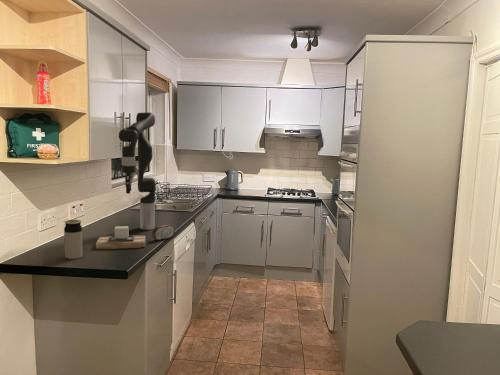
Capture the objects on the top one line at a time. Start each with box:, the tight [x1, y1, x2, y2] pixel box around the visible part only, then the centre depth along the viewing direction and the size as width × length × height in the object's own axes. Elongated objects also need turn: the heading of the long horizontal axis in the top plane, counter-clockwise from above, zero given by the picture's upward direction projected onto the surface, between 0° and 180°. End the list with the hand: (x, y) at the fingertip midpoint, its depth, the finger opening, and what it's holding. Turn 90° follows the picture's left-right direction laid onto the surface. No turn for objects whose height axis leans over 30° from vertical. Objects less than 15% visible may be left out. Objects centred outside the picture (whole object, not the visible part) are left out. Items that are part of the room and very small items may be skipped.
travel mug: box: [63, 219, 84, 260], centre depth 192 cm, size 8×8×18 cm
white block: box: [114, 225, 130, 240], centre depth 217 cm, size 5×7×7 cm
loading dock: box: [95, 234, 146, 250], centre depth 217 cm, size 15×25×4 cm, turn 103°
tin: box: [151, 223, 175, 241], centre depth 232 cm, size 15×3×8 cm, turn 141°
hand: (128, 192), depth 228 cm, fingers open, 8 cm apart
